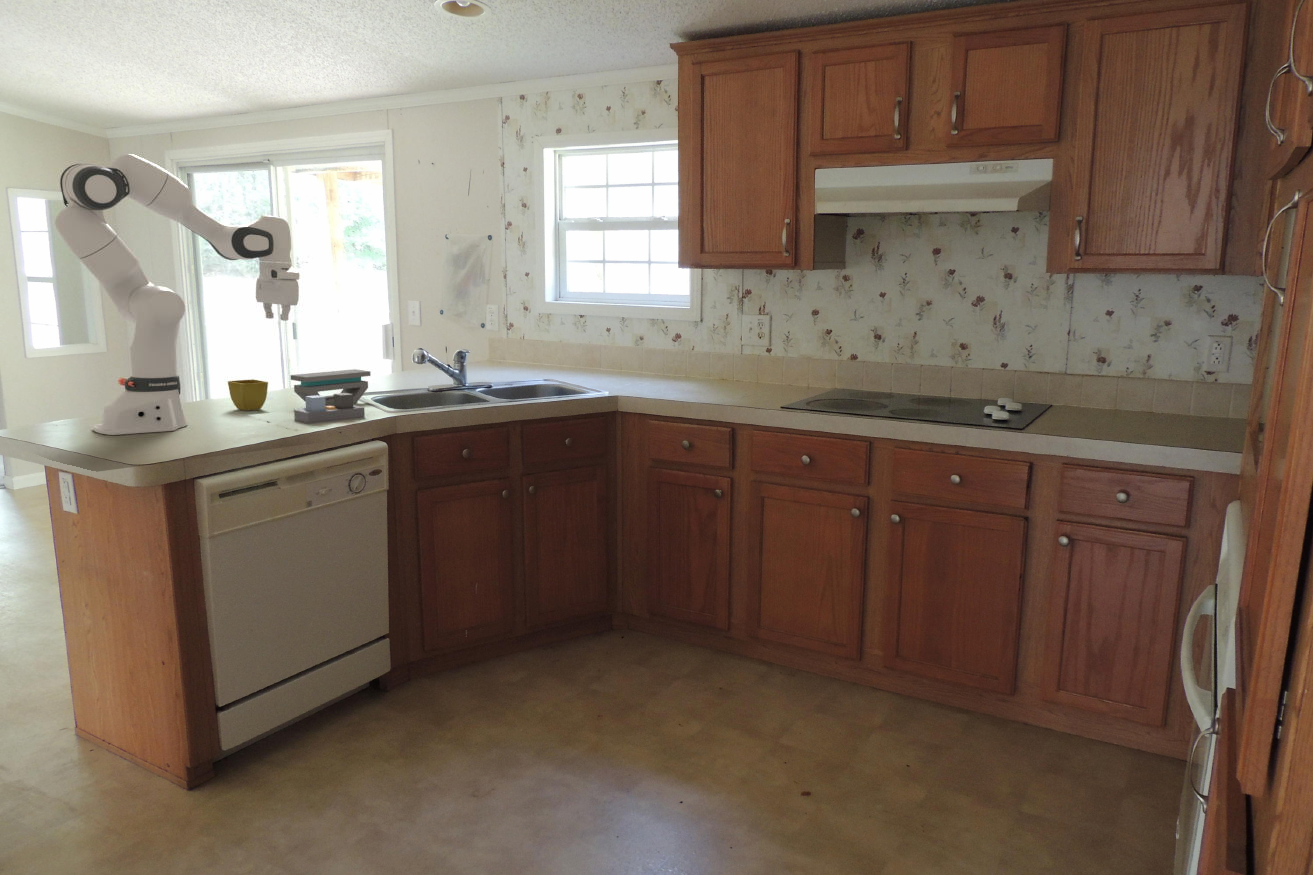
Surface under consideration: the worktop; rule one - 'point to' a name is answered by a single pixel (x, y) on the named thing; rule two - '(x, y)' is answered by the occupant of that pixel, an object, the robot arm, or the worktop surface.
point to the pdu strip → (329, 414)
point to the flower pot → (248, 393)
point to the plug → (315, 403)
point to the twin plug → (343, 400)
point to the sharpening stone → (332, 384)
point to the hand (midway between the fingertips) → (276, 319)
